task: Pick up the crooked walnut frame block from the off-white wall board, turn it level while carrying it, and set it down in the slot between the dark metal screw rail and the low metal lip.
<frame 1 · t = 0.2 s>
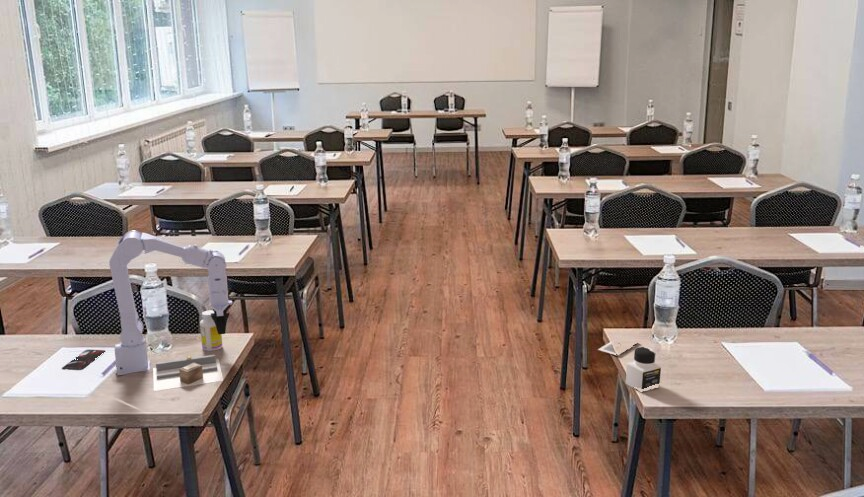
hand: (221, 329, 243), 10 cm above the table, fingers open, 7 cm apart
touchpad: (618, 349, 253), on the table
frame: (191, 379, 229), point 1 cm above the table, touching wall board
wall board: (187, 375, 233), on the table
supplement bottle: (212, 348, 253), on the table
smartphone: (84, 361, 244), on the table
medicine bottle: (642, 386, 225), on the table
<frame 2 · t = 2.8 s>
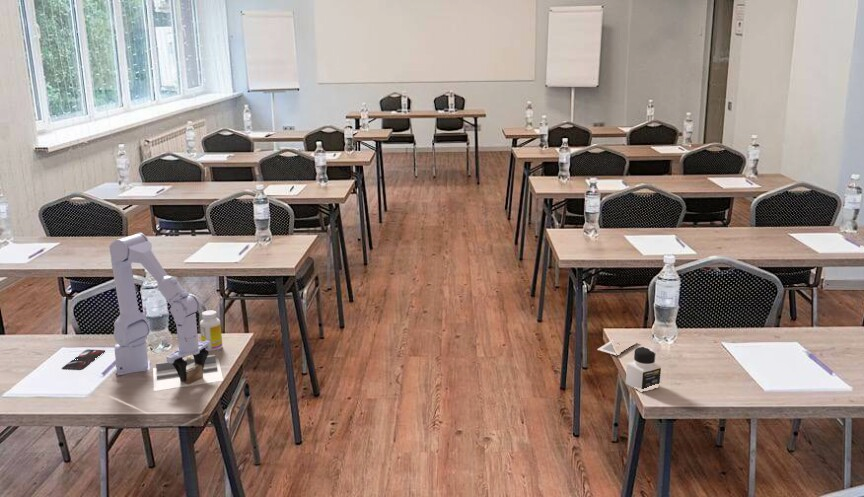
hand: (191, 376, 228), 2 cm above the table, fingers closed on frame, 5 cm apart
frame: (191, 379, 229), point 1 cm above the table, touching gripper, wall board
everything else where it was.
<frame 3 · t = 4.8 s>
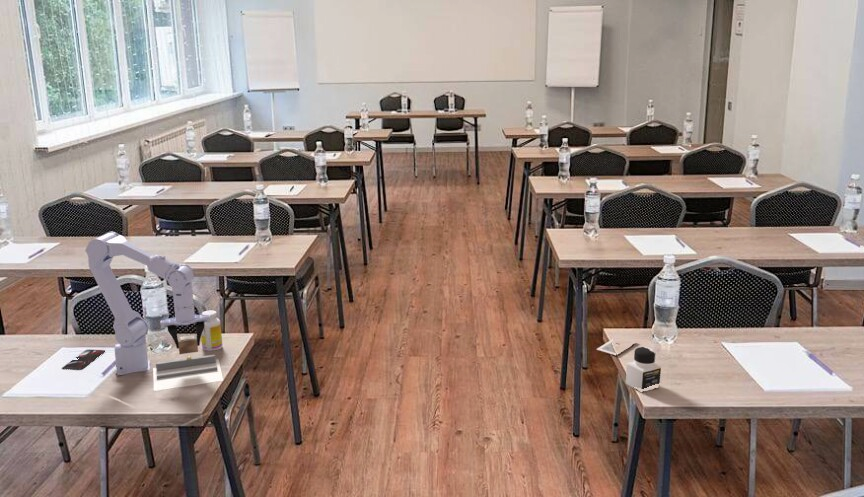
hand: (188, 346, 233), 9 cm above the table, fingers closed on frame, 5 cm apart
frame: (188, 350, 233), point 7 cm above the table, touching gripper
everything else where it was.
when the fingers open (2 cm above the table, at t = 6.9 s): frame stays where it is, resting on wall board.
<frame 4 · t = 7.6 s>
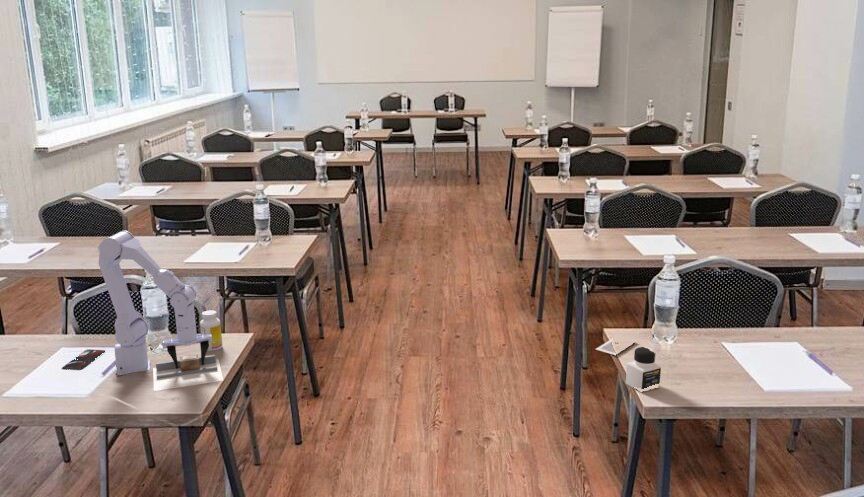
hand: (190, 365, 235), 2 cm above the table, fingers open, 7 cm apart
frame: (190, 370, 235), point 1 cm above the table, touching wall board
everything else where it was.
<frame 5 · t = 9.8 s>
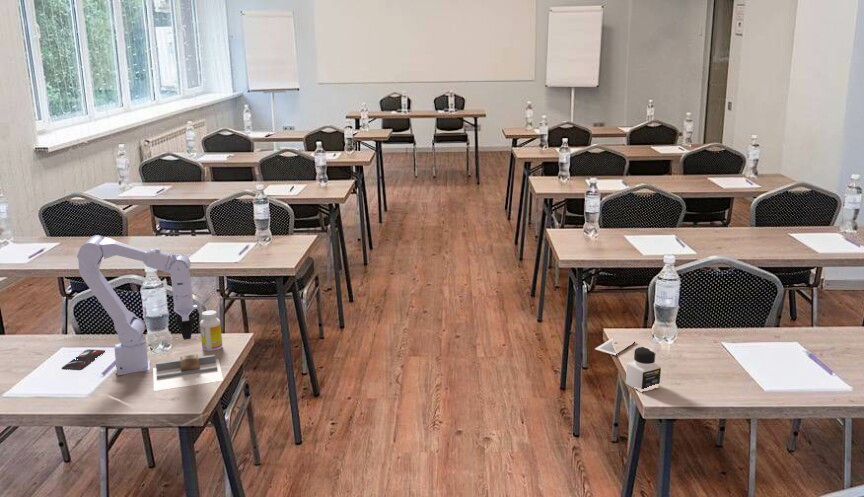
hand: (186, 334, 238), 10 cm above the table, fingers open, 7 cm apart
at the end: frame 0.3 cm from the target spot, point 0.6 cm above the table; the gripper is holding nothing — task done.
